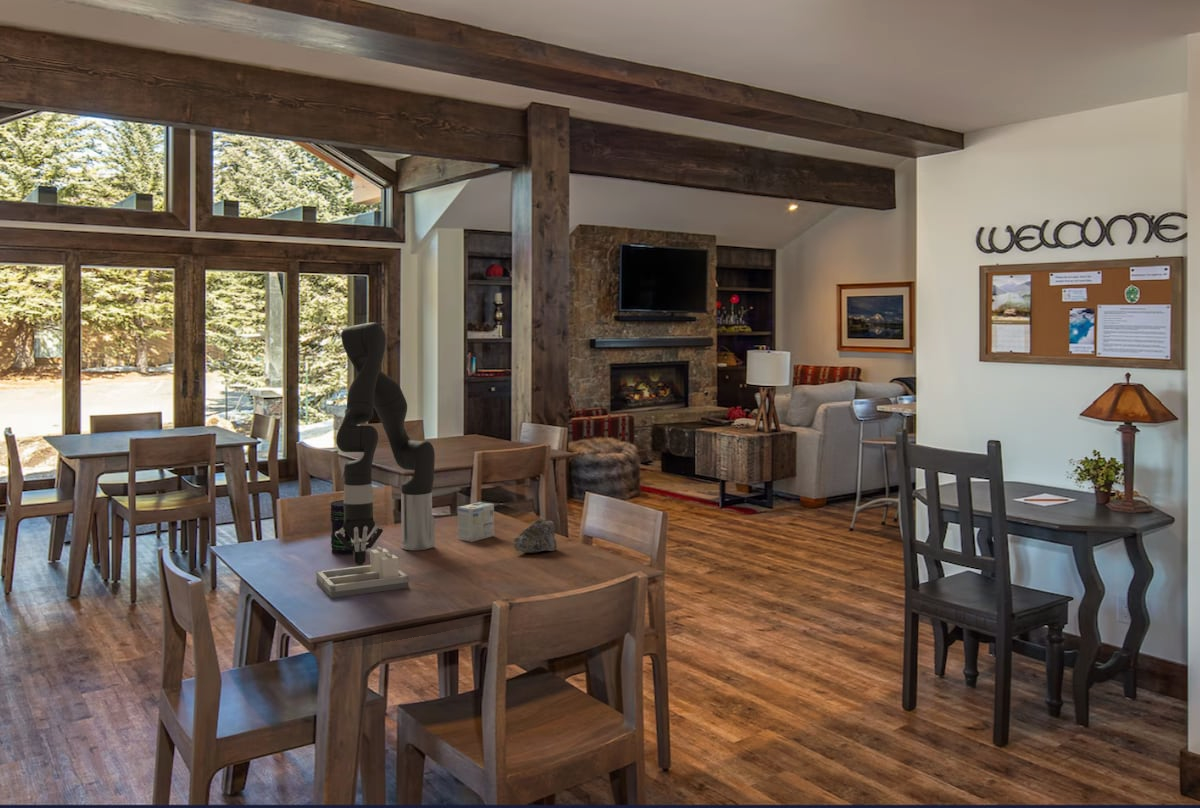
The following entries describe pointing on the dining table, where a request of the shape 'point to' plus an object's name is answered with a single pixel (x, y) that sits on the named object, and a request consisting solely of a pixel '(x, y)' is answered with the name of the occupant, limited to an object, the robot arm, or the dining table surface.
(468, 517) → the light bulb box
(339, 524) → the storage jar
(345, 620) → the dining table surface
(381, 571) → the tab
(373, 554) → the tab
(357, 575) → the switch bank
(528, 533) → the mineral rock
